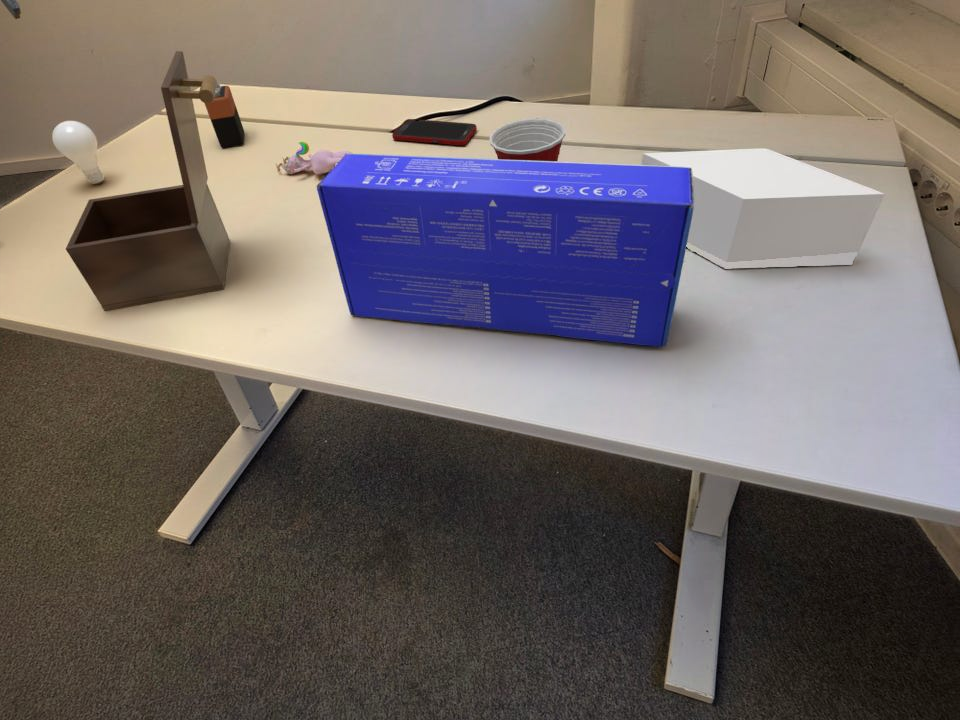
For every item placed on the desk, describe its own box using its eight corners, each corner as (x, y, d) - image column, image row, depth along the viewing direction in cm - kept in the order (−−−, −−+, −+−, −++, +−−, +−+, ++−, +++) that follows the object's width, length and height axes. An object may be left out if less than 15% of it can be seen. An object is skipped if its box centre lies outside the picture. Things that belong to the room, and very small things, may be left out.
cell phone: (407, 123, 119) (406, 118, 118) (478, 128, 115) (477, 123, 114) (391, 140, 113) (390, 135, 113) (465, 146, 110) (464, 141, 109)
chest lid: (160, 87, 64) (206, 88, 66) (175, 50, 73) (216, 52, 75) (191, 223, 75) (231, 223, 76) (201, 177, 84) (236, 178, 85)
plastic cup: (499, 188, 98) (496, 114, 90) (566, 191, 96) (569, 116, 88) (486, 224, 91) (481, 147, 82) (558, 228, 89) (561, 150, 80)
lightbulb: (87, 195, 105) (52, 133, 97) (73, 184, 108) (38, 124, 100) (123, 181, 108) (92, 120, 100) (108, 171, 111) (77, 111, 104)
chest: (104, 311, 81) (65, 249, 74) (122, 259, 90) (88, 199, 83) (224, 289, 83) (196, 226, 76) (230, 240, 91) (206, 180, 85)
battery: (221, 149, 115) (201, 95, 108) (222, 135, 120) (203, 83, 113) (244, 145, 116) (226, 92, 109) (244, 131, 121) (227, 79, 114)
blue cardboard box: (666, 305, 75) (694, 165, 62) (665, 351, 69) (696, 207, 56) (371, 278, 82) (342, 148, 70) (348, 317, 77) (312, 183, 64)
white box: (648, 196, 94) (658, 131, 86) (857, 237, 83) (888, 166, 76) (617, 245, 85) (625, 177, 77) (847, 297, 74) (881, 224, 67)
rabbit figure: (277, 185, 106) (352, 178, 101) (262, 153, 102) (339, 144, 97) (294, 169, 110) (366, 161, 105) (280, 137, 107) (354, 128, 102)
